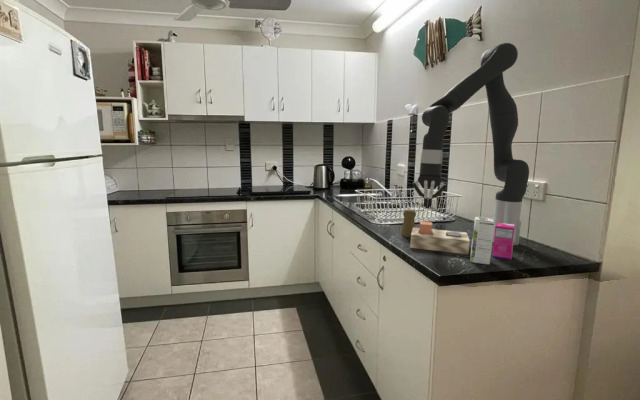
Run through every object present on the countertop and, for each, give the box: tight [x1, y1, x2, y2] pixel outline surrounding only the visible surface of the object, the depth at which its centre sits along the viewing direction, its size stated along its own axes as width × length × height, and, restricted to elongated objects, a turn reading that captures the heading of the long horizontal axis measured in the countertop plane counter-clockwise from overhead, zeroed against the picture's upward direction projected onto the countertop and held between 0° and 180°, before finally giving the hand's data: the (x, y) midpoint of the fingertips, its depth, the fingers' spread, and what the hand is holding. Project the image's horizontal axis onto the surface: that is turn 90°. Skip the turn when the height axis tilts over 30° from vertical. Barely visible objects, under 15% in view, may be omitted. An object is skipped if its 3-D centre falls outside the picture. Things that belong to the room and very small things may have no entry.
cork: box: [400, 208, 417, 238], centre depth 140 cm, size 6×6×11 cm
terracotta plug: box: [419, 221, 433, 234], centre depth 126 cm, size 4×4×5 cm
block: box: [409, 226, 471, 255], centre depth 125 cm, size 20×12×5 cm, turn 71°
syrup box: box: [469, 216, 495, 265], centre depth 109 cm, size 6×6×14 cm
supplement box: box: [492, 223, 515, 261], centre depth 114 cm, size 6×6×12 cm
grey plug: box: [447, 232, 460, 237], centre depth 123 cm, size 4×4×5 cm
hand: (427, 208), depth 125 cm, fingers closed
